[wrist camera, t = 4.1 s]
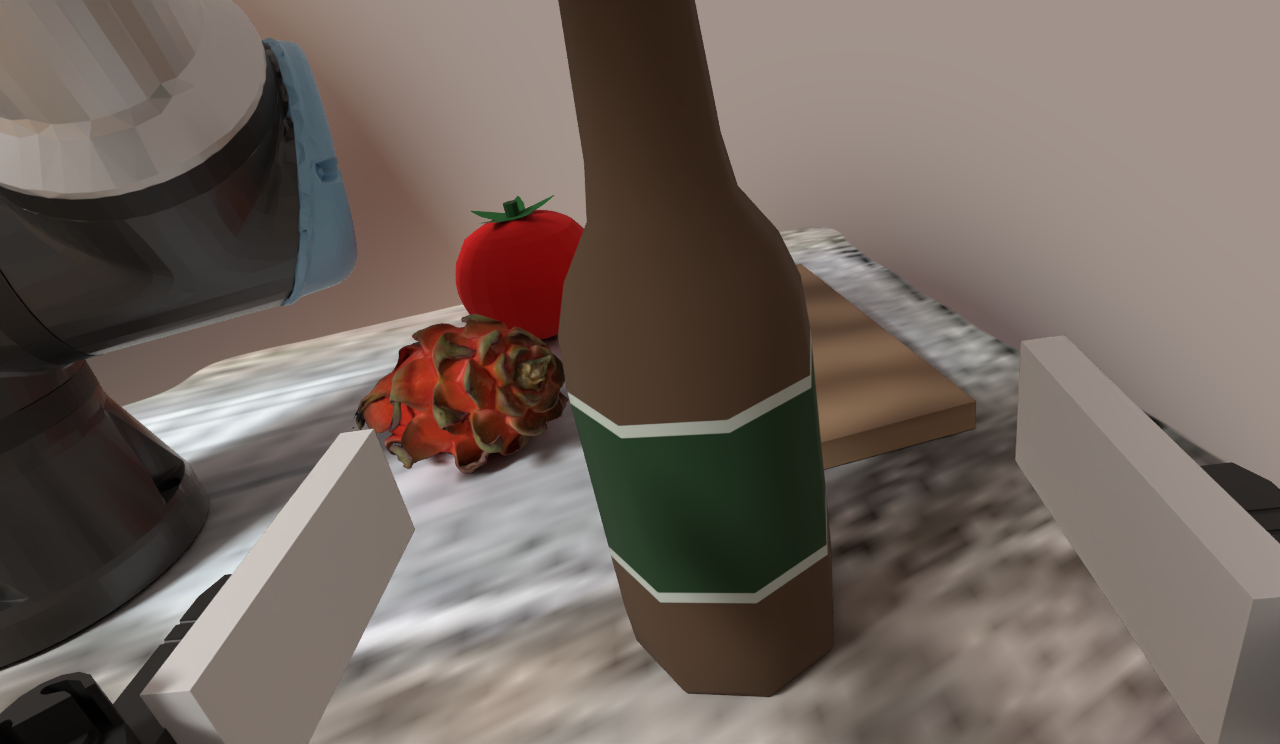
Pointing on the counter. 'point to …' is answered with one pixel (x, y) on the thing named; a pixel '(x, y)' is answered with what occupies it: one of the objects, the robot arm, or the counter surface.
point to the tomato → (518, 267)
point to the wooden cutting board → (873, 384)
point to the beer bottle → (690, 367)
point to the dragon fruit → (466, 393)
